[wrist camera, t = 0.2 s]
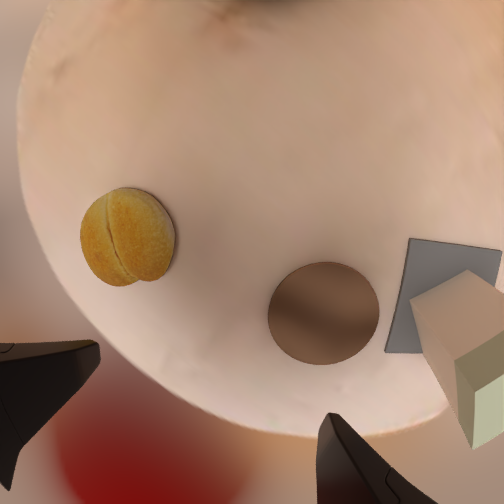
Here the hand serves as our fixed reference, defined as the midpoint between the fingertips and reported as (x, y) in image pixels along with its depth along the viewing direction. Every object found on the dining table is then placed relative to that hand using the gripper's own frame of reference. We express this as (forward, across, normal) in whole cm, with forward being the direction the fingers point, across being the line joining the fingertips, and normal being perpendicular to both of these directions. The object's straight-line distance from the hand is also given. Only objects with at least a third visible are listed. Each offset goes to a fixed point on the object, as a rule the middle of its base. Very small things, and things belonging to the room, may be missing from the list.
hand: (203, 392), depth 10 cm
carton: (+14, +17, 0) cm, 22 cm away
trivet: (+14, +6, -2) cm, 15 cm away
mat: (+14, +16, +1) cm, 22 cm away
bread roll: (+15, -12, 0) cm, 19 cm away
